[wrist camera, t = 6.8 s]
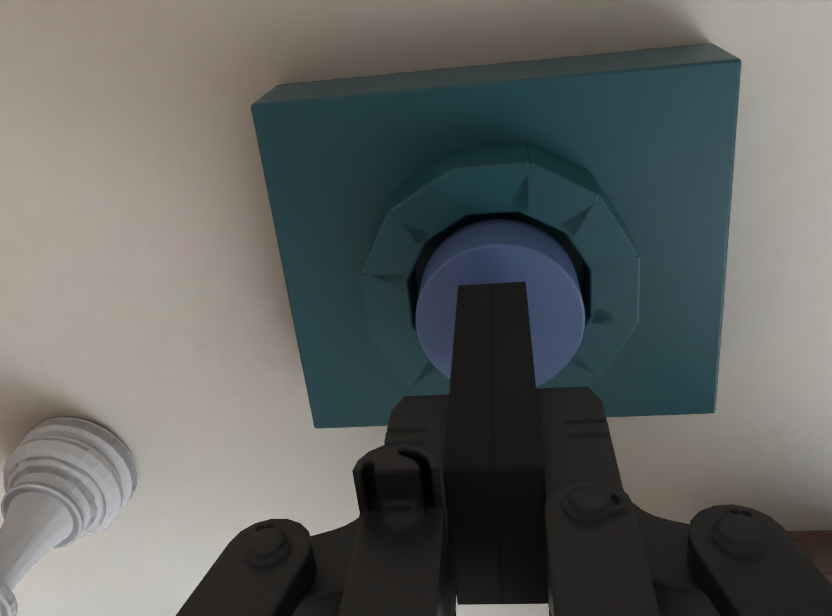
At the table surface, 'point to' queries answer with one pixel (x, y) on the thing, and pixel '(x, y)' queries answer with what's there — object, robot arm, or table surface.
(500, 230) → the blue push button
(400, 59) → the table surface
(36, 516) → the chess piece
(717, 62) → the push button block
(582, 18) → the table surface
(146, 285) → the table surface
